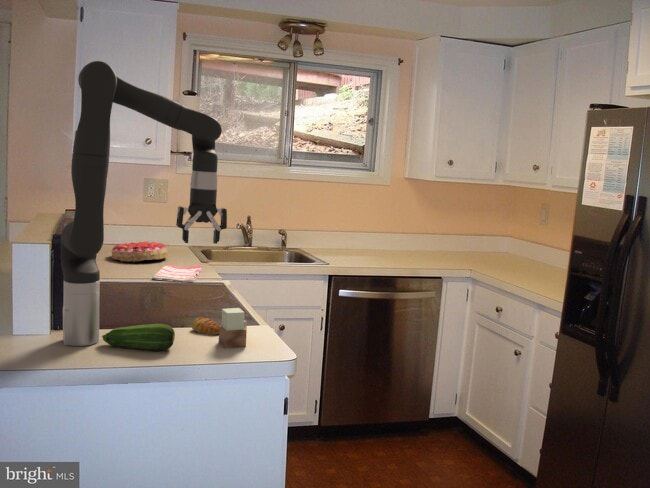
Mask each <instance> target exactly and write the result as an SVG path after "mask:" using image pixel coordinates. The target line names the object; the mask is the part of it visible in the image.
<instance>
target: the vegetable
mask: <svg viewBox="0 0 650 488" xmlns="http://www.w3.org/2000/svg"><path fill="white" fill-rule="evenodd" d="M175 332H176V331H175V330H174V328H173V327H171V326H170V325H169V324H164V323H152V324H141V325H140V324H139V325H138V324H137V325H130V326H120V327H115V328H113V329H111V330H110V331H109V332H107V333H105V334H103V335H102V336H101V337H102V340H103V341H104V342H105V343H107V344H108V345H109V346H110V347H112V348H117V347H120V348H119V349H121V348H130V349H131V348H132V349H138V350H146V351H154V350H155V351H159V352H160V351H166V350H169V349H170V348H171V347H172V346H173V344H174V342H175V337H176V333H175Z"/></svg>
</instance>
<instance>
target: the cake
mask: <svg viewBox="0 0 650 488" xmlns="http://www.w3.org/2000/svg"><path fill="white" fill-rule="evenodd" d="M168 253H169V252H168V248H167V246H166V244H164V243H162V242H155V241H152V242H149V241H148V240H147V241H139V242H130V243H126V242H125V243H117V244H116V245H114V246H113V247H112V248H111V259H112V260H116V261H117V260H118V261H120V262H121V263H128V264H129V263H130V264H132V263H139V262H143V261H158V260H163V259H166V258H168V257H169V254H168Z"/></svg>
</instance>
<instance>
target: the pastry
mask: <svg viewBox="0 0 650 488" xmlns="http://www.w3.org/2000/svg"><path fill="white" fill-rule="evenodd" d="M219 326H221V324H219V323H218V322H217V321H214V319H210V318H208V317H207V318H204V317H200V316H198V317H196V319H194V320H193V322H192V324H191V328H192V330H193V331H194V332H197V333H199V334H203V335H204V334H205V335H209V336H212V335H215V336H216V335H219Z"/></svg>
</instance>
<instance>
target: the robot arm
mask: <svg viewBox="0 0 650 488" xmlns="http://www.w3.org/2000/svg"><path fill="white" fill-rule="evenodd" d="M77 81H78V85H79V87H80V93H81V98H80V101H81V103H80V105H81V106H80V107H81V108H80V116H79V121H78V125H77V127H76V128H77V129H76V132H75V137H74V139H73V140H74V141H73V147H72V157H71V171H70V173H71V181H72V189H73V193H74V199H75V203H74V204H75V208H74V214H73V215H74V218H73V220H72V221H70V222H68V223H67V224H66V225H65V226H64V228H63V229H62V231H61V234H60V235H61V236H60V261H61V263H60V264H61V271H62V273H63V274H62V275H63V305H62V342H63V345H64V346H73V347H80V346H81V347H82V346H84V347H85V346H90V345H95V344H97V343H98V342H99V341H100V297H101V296H100V290H101V289H100V288H101V287H100V285H101V284H100V282H101V281H100V278H101V277H100V276H101V273H100V268H99V267H98V264H97V259H96V258H97V257H96V255H97V254H98V253H99V252H100V251H101V250H102V248H103V244H104V240H105V239H104V238H105V237H104V236H105V234H104V230H105V228H104V227H105V226H104V221H105V220H104V212H105V211H104V210H105V209H104V208H105V206H104V205H105V197H106V190H107V184H108V183H107V179H108V173H109V166H110V165H109V164H110V150H111V149H110V148H111V116H112V109H113V104H117V105H119V106H122V107H125V108H127V109H129V110H130V109H131V110H132V111H135V112H137V113H139V114H142V115H143V116H145V117H147V118H150V119H152V120H154V121H156V122H158V123H160V124H162V125H164V126H168V127H170V128H172V129H174V130H177V131H182V132H185V133H187V134H188V135H189V134H190V135H191V143H192V144H191V145H192V152H193V153H192V154H193V155H192V164H191V165H192V166H191V169H192V170H191V176H190V182H189V186H190V190H189V205H188V206H187V207H185V206H181V205H179V206H177V215H176V222H175V223H176V225H175V226H176V227H177V228H179V229H181V230H182V236H181V237H182V241H183V243H185V244H188V243H189V238H190V237H189V236H190V234H189V233H190V232H189V231H190V230H189V229H190V227H191V226H192V225H194V223H199V224H200V223H205V224H206V223H207V224H208V223H210V224H211V225H212V228H214V230H213V239H212V241H213V242H212V243H213V244H218V242H219V241H220V239H221V237H220V236H221V231H222V230H227V228H228V213H227V212H228V210H227V208H224V207H221V208H217V198H218V197H217V194H218V193H217V192H218V161H219V160H218V154H217V152H216V141H217V140H218V139H219V138H220V137H221V135H222V130H223V129H222V125H221V123H220V122H219V120H217V119H216V118H215V117H213V116H211V115H208V114H206V113H204V112H202V111H201V112H200V111H197V110H194V109H193V108H190V107H187V106H186V105H183V104H182V103H179V102H178V101H175V100H173V99H171V98H168V97H167V96H163V95H161V94H158V93H154V92H151V91H149V90H145V89H144V88H140V87H138V86H135V85H133V84H131V83H129V82H127V81H125V80H123V79H121V78H120V77H119V76H117V74H116V72H115V70H114V68H113V67H112V66H111V65H110V64H109V63H107V62H105V61H101V60H95V61H90V62H89V63H87V64H85V65H84V66H83V67H82V69H81V70H80V72H79V74H78V78H77ZM187 213H188V214H189V215H190V216H189V217H188V218H187V219H186V221H185V222H184V224H183V221H184V215H186V214H187ZM217 214H218V215H219V216H220V224H218V222H217V220H216V218H215V216H216V215H217Z"/></svg>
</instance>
